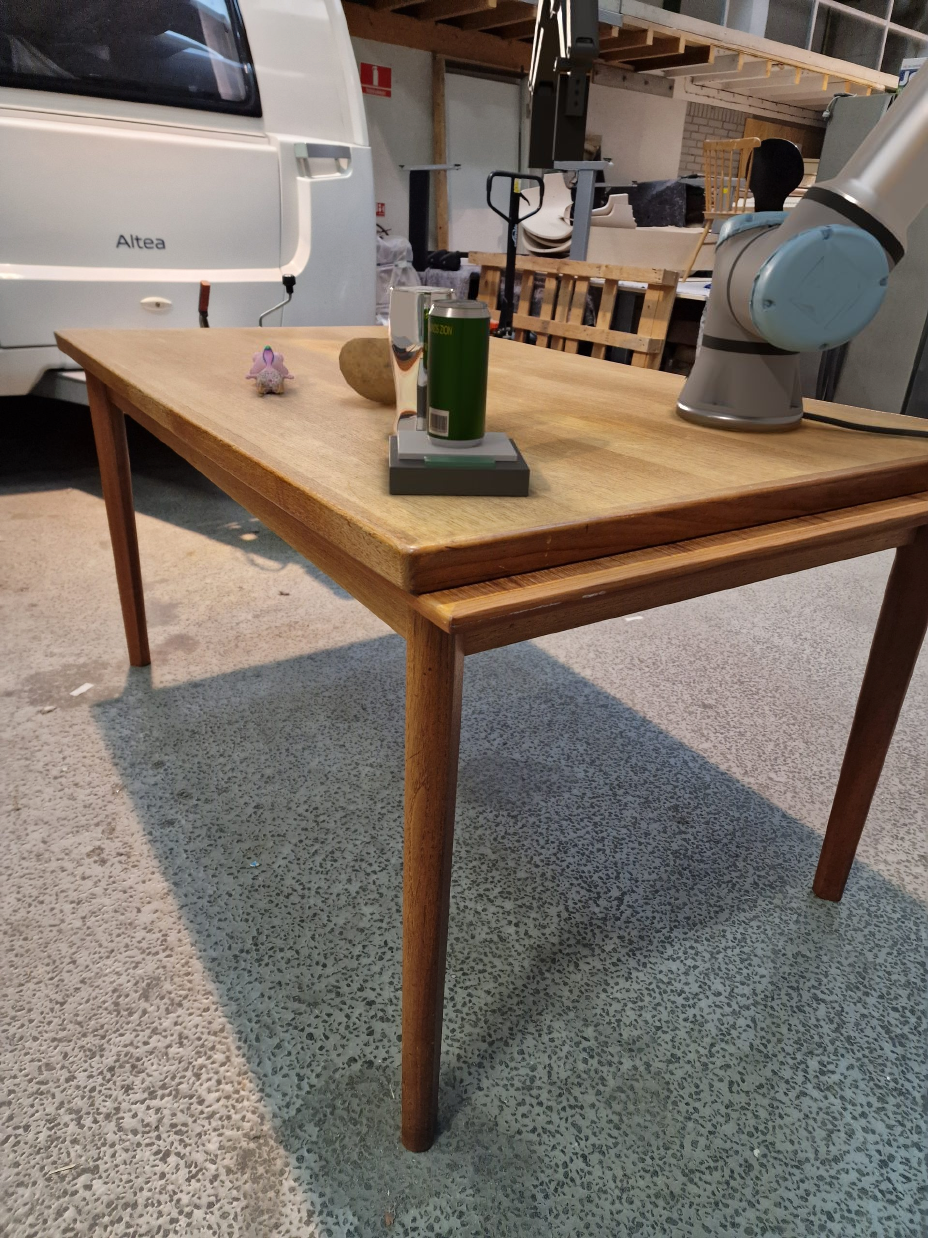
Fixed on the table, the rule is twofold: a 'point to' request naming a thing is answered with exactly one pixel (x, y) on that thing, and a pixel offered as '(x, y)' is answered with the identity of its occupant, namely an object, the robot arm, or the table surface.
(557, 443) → the table surface
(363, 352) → the potato
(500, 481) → the scale
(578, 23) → the robot arm
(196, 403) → the table surface
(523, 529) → the table surface
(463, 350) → the beer can
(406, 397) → the beer glass
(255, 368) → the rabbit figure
